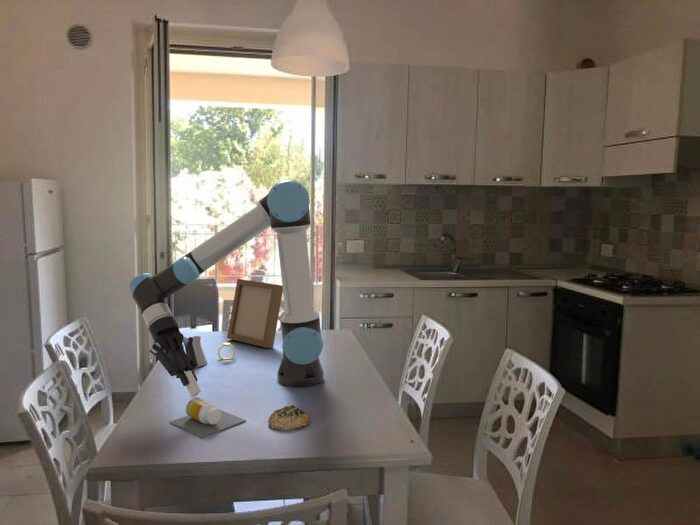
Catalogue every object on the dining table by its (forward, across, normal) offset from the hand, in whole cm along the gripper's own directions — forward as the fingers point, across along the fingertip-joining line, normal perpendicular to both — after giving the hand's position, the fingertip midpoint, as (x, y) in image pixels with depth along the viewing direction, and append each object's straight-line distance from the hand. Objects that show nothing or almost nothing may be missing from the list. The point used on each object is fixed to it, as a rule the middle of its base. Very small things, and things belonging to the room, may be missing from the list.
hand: (196, 394), depth 152 cm
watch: (-21, -40, -31) cm, 55 cm away
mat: (+8, 0, -1) cm, 8 cm away
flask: (-23, -28, -33) cm, 49 cm away
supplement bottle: (+2, 0, -3) cm, 4 cm away
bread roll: (+19, -15, +10) cm, 26 cm away
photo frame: (-28, -64, -38) cm, 79 cm away
